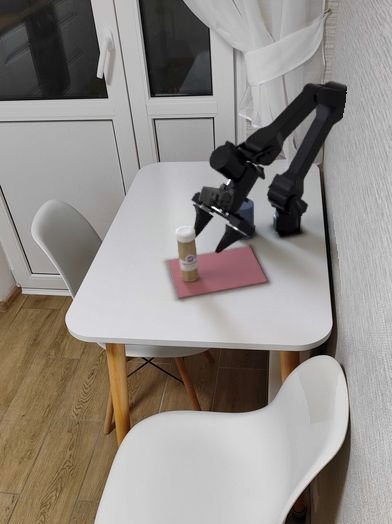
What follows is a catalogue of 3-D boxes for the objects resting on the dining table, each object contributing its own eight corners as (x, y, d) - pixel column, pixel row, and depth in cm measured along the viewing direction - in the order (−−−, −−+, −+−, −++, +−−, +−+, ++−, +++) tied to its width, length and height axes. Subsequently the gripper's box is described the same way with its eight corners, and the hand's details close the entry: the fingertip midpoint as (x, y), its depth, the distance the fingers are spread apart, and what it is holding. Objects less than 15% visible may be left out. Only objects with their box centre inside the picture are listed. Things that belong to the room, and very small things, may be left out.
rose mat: (249, 247, 141) (249, 245, 141) (267, 282, 130) (267, 281, 130) (168, 261, 139) (167, 260, 139) (178, 298, 128) (178, 297, 128)
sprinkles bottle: (187, 285, 131) (181, 237, 122) (177, 276, 134) (171, 229, 125) (202, 278, 133) (198, 231, 123) (192, 269, 135) (188, 222, 126)
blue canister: (250, 226, 149) (250, 196, 143) (256, 237, 145) (256, 207, 138) (229, 229, 148) (228, 200, 142) (235, 241, 144) (234, 211, 138)
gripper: (194, 159, 126) (161, 218, 130) (245, 187, 115) (207, 250, 118) (221, 179, 135) (190, 234, 138) (271, 206, 123) (236, 265, 127)
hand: (204, 244), depth 130 cm, fingers open, 9 cm apart
